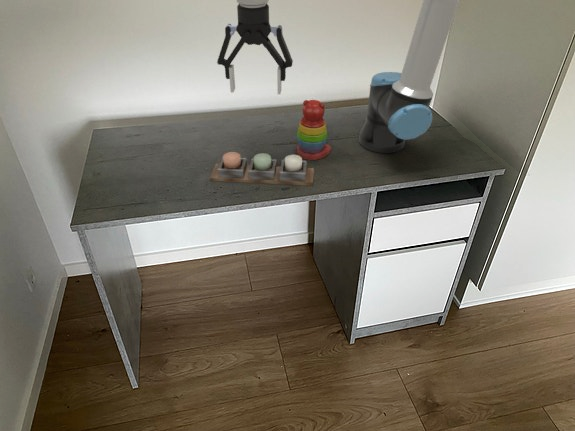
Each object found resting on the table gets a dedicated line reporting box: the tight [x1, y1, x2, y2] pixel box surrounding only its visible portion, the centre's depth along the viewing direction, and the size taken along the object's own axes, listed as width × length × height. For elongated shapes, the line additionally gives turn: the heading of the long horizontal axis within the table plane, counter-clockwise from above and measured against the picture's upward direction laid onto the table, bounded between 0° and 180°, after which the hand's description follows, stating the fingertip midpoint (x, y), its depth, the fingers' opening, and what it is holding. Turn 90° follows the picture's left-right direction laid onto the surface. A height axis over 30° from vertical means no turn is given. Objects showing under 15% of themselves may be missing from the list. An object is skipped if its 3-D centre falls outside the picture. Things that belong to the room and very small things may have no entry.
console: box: [210, 156, 315, 187], centre depth 139 cm, size 30×8×4 cm, turn 86°
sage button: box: [253, 152, 272, 171], centre depth 137 cm, size 5×5×3 cm
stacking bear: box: [296, 99, 332, 161], centre depth 145 cm, size 11×10×18 cm
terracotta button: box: [222, 151, 242, 169], centre depth 137 cm, size 5×5×3 cm
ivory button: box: [284, 154, 303, 172], centre depth 136 cm, size 5×5×3 cm
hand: (256, 91), depth 124 cm, fingers open, 12 cm apart
